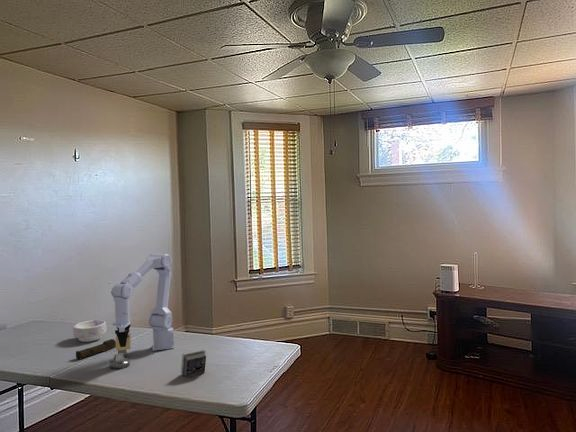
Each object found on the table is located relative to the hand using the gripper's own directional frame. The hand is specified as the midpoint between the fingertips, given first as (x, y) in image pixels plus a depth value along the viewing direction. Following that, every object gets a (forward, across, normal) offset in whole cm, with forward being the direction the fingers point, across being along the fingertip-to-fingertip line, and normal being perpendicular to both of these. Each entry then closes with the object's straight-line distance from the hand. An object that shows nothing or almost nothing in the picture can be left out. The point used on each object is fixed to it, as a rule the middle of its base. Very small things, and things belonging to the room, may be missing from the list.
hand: (123, 344), depth 182 cm
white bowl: (+9, -44, -18) cm, 48 cm away
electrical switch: (+9, +21, +28) cm, 36 cm away
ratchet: (+9, -5, -1) cm, 10 cm away
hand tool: (+9, -20, -13) cm, 25 cm away
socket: (+2, 0, 0) cm, 2 cm away
